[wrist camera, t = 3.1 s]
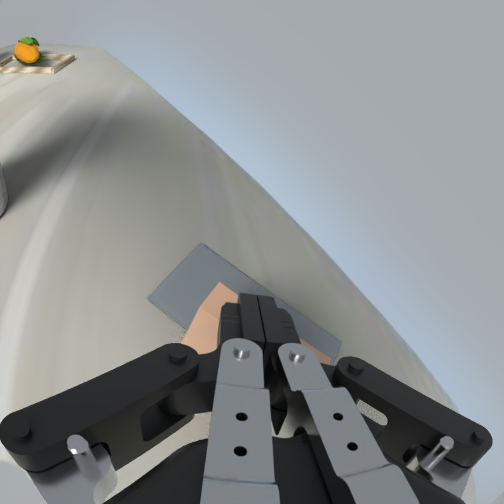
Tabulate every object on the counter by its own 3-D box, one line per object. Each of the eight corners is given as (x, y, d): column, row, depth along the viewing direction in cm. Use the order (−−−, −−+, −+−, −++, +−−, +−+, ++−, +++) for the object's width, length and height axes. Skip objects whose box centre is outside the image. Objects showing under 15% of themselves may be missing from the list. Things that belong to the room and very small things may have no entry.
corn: (33, 31, 46) (50, 39, 43) (32, 52, 52) (50, 65, 49) (11, 38, 42) (24, 48, 38) (11, 60, 48) (24, 74, 44)
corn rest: (-11, 73, 42) (-11, 69, 41) (11, 58, 49) (12, 54, 48) (53, 73, 50) (54, 68, 49) (74, 59, 57) (74, 55, 55)
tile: (175, 354, 28) (199, 306, 19) (190, 335, 30) (220, 280, 21) (256, 408, 28) (319, 386, 19) (267, 388, 29) (331, 357, 20)
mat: (147, 299, 30) (147, 297, 30) (199, 245, 37) (200, 242, 37) (311, 411, 29) (314, 410, 29) (339, 343, 36) (341, 342, 36)
